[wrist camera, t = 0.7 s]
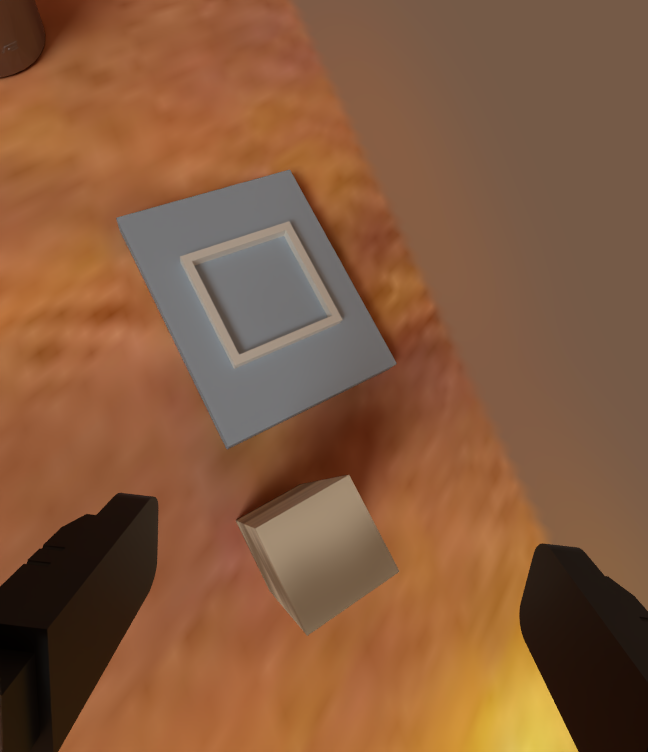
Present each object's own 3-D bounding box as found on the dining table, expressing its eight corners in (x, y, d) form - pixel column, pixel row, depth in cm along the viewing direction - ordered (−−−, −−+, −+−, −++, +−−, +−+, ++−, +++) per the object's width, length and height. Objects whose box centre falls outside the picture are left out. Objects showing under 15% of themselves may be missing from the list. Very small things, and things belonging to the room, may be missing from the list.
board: (119, 229, 34) (114, 211, 31) (286, 181, 38) (291, 162, 36) (226, 449, 31) (229, 445, 29) (389, 369, 36) (401, 360, 34)
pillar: (235, 520, 30) (255, 528, 20) (300, 484, 32) (349, 474, 22) (269, 590, 30) (307, 635, 20) (333, 549, 32) (399, 571, 21)
